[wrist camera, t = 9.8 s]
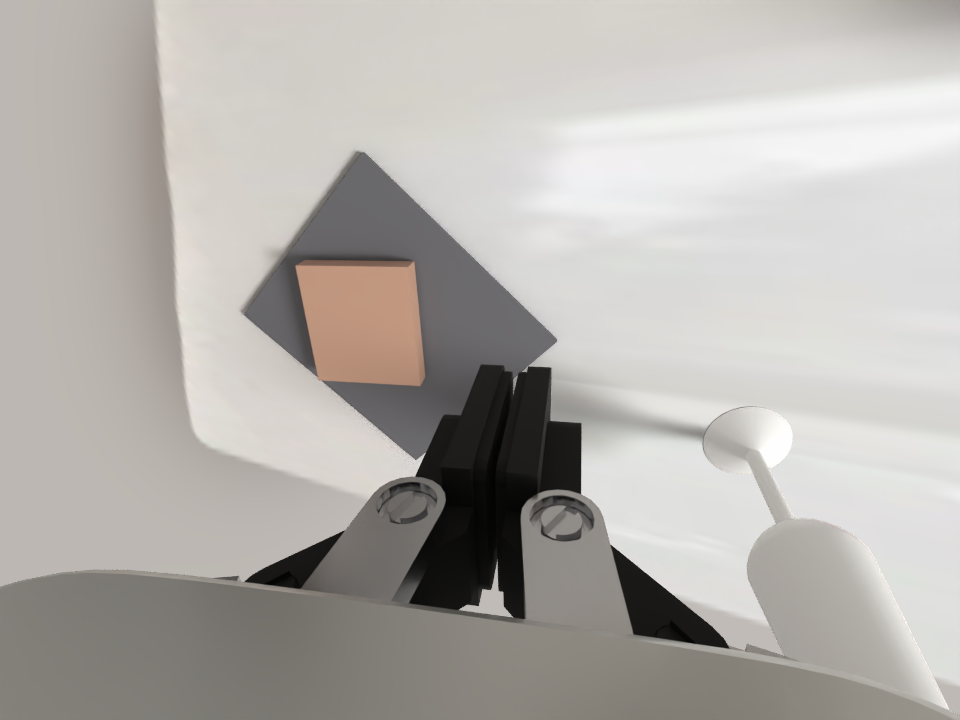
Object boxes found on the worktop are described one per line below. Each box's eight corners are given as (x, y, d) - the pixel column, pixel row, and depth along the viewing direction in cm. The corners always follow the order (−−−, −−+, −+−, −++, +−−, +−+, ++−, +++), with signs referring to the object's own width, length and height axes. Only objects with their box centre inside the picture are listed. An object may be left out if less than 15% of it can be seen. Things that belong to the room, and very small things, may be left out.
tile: (415, 260, 39) (307, 258, 41) (407, 267, 37) (295, 265, 39) (426, 375, 44) (328, 370, 45) (420, 386, 42) (318, 380, 43)
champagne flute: (711, 481, 44) (831, 833, 23) (694, 417, 41) (810, 743, 20) (798, 466, 42) (1019, 838, 21) (786, 397, 39) (1022, 739, 18)
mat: (247, 312, 45) (243, 314, 44) (364, 152, 37) (361, 152, 36) (417, 456, 48) (416, 460, 48) (556, 339, 40) (556, 341, 40)
